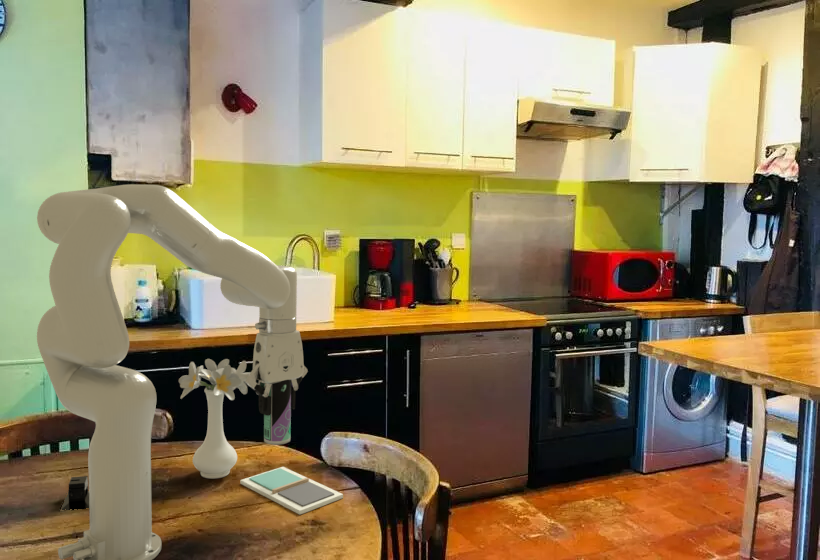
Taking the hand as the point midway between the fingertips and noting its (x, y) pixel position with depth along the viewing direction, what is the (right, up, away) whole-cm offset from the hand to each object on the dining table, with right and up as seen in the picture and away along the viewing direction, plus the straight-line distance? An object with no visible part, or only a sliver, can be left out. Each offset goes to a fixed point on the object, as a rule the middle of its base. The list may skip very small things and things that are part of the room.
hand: (277, 410), depth 144 cm
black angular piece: (-37, -17, -9) cm, 42 cm away
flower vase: (-15, -15, +7) cm, 22 cm away
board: (+3, -16, -2) cm, 17 cm away
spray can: (0, -7, +1) cm, 7 cm away
